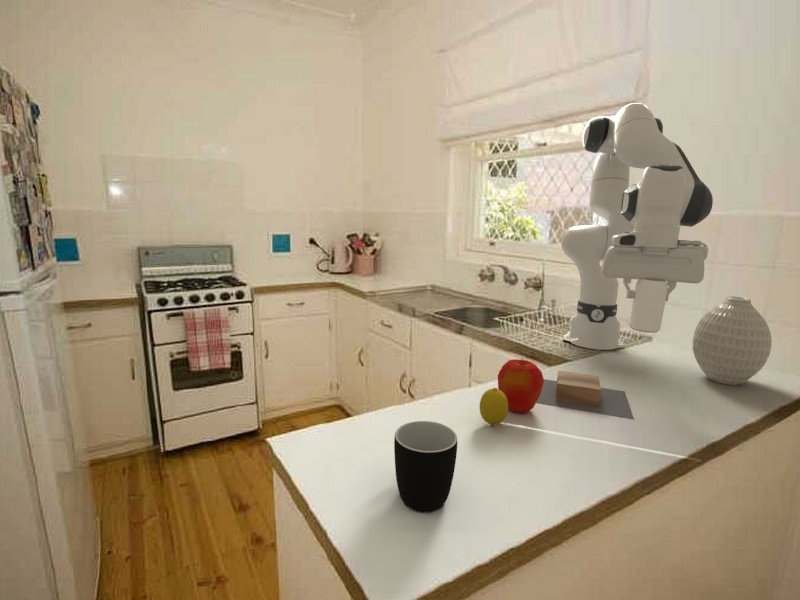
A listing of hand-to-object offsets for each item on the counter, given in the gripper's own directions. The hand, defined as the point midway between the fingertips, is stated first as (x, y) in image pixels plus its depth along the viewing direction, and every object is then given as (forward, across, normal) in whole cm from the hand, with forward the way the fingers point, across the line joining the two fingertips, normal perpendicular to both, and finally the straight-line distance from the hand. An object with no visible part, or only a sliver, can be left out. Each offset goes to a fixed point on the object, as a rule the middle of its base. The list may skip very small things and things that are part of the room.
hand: (646, 299), depth 100 cm
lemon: (+23, +29, +30) cm, 48 cm away
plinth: (+23, +13, +8) cm, 27 cm away
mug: (+23, +36, +56) cm, 71 cm away
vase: (+23, -24, -21) cm, 39 cm away
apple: (+23, +25, +21) cm, 40 cm away
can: (+7, 0, 0) cm, 7 cm away
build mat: (+23, +13, +8) cm, 28 cm away
